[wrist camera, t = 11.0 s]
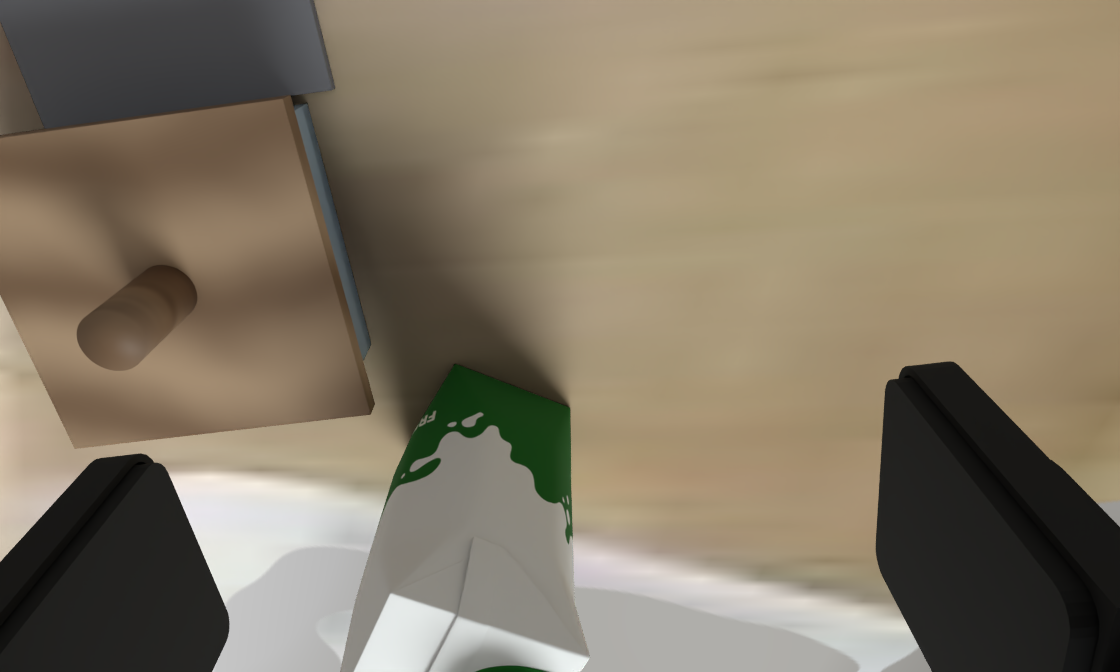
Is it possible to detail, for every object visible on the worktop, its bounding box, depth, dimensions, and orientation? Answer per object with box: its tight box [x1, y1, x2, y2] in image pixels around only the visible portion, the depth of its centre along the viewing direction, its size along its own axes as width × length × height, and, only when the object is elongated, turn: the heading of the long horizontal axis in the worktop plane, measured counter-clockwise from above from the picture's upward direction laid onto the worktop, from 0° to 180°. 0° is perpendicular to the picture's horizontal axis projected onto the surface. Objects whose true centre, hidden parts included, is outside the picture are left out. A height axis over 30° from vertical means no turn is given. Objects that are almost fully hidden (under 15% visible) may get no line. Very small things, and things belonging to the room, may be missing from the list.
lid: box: [0, 95, 375, 449], centre depth 33 cm, size 15×15×6 cm
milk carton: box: [340, 364, 590, 672], centre depth 37 cm, size 9×9×20 cm
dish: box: [293, 103, 371, 360], centre depth 38 cm, size 13×13×5 cm
